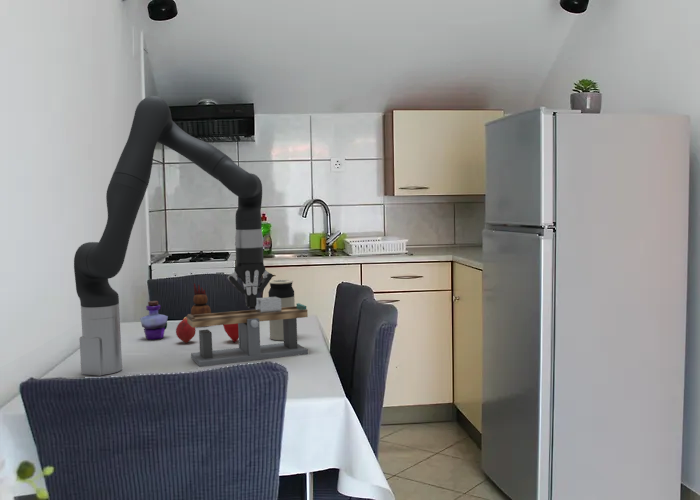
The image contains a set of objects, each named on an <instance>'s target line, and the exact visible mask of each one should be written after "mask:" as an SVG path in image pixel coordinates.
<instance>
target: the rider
mask: <svg viewBox="0 0 700 500" xmlns="http://www.w3.org/2000/svg"><path fill="white" fill-rule="evenodd" d="M256 298H257V305H256V306H255V310H256V313H269V312H281V311H282V310H281V299H280V298H278V297H269V296H268V297H256Z"/></svg>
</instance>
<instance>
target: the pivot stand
mask: <svg viewBox="0 0 700 500" xmlns="http://www.w3.org/2000/svg"><path fill="white" fill-rule="evenodd" d="M297 319H298V318H292V319H283V334H284V340H283V342H280V343H273V344H272V343H271V344H262V345H261V334H260V331H261V330H260V328H261V327H260V321H259V319H258V318H254V319H247V323H238V334H239V338H238V347H234V348H226V349H225V348H224V349H217V350H216V349H215V350H213V339H212V338H213V335H212V331H211V330H209V329H199V330H198V339H199V343H198V344H199V351H197V352H191V353H190V357H191V359H192V360H193V361H194V362H195V364H196V365H197V366H198V367H199V366H201V367H209V366H216V365H225V363H226V364H235V363H240V362H248V361H249V362H251V361H259V360H265V359H266V360H267V359H275V358H283V357H292V356H299V355H301V356H302V355H308V354H309V353H308V349H307V348H305V347H304V346H302V345H300V344H299V343H298V325H297V324H298V323H297V322H298V321H297ZM234 362H235V363H234Z"/></svg>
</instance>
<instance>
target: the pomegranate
mask: <svg viewBox="0 0 700 500" xmlns="http://www.w3.org/2000/svg"><path fill="white" fill-rule="evenodd" d="M175 335H176V337H177V338H178V339H179V340H180V341H181V342H183V343H185V344H188V343H189V342H191V340H192V339H193V338H194V337H195V335H196V327H191V326H190V325H189V324H188V323H187V316H185V317H184V318H183V319H182V320H181V321H180V322H179V323H178V324H177V325H176V329H175Z"/></svg>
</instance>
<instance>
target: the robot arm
mask: <svg viewBox="0 0 700 500" xmlns="http://www.w3.org/2000/svg"><path fill="white" fill-rule="evenodd" d="M171 112H172V111H171V108H170V107H169V105H168V103H167V102H166V101H165V100H164V98H162V97H160V96H157V95H150V96H147V97H145V98H143V99H141V101H140V102H139V103H138V104H137V105H136V108H135V110H134V115H133V120H132V123H131V127H130V132H129V135H128V138H127V140H126V142H125V145H124V148H123V149H122V151H121V154H120V156H119V158H118V160H117V163H116V166H115V168H114V171H113V173H112V175H111V178H110V180H109V183H108V186H107V190H106V197H105V198H106V199H105V200H106V208H107V211H106V212H107V220H106V224H105V227H104V230H103V232H102V234H101V237H100V239H99V241H98V242H96V241H89V242H85V243H83V244H81V245H79V246H78V247H77V249H76V251H75V253H74V258H73V269H74V271H73V272H74V279H75V280H74V283H75V289H76V294H77V297H78V298H79V302H80V316H81V334H82V336H80V337H79V352H80V353H79V355H80V372H81V375H87V376H103V375H109V374H114V373H117V372H118V373H119V372H121V371H122V370H123V358H122V356H123V355H122V340H121V339H122V337H121V317H120V314H121V313H120V298H119V294H118V292H117V291H116V290H115V289H113V287H112V286H111V284H110V283H109V279H112V278H114V277H116V276H117V275H118V274H119V273H120V272H121V270H122V267H123V265H124V263H125V259H126V255H127V250H128V247H129V244H130V243H129V242H130V238H131V234H132V232H133V231H132V230H133V228H134V225H135V223H136V219H137V216H138V213H139V210H140V208H141V205H142V202H143V200H144V198H145V195H146V191H147V190H148V188H149V187H148V186H149V183H150V180H151V173H152V168H153V161H154V154H155V149H156V146H157V144H158V143H159V144H160V145H161V144H162V145H163V146H165V147H167V148H168V149H171V150H172V151H174V152H176V153H178V154H180V156H183V157H184V158H185V159H187V160H189V161H190V162H192V163H193V164H195V165H196V166H197V167H199V168H200V169H201V170H203V171H204V172H206V173H207V174H208V175H210V176H211V177H212V178H214V179H215V180H217V181H219V183H221V185H223V186H224V187H225V188H226V189H228V191H230V192H231V193H233V194H234V195H235V196H236V197H238V198H237V210H236V211H235V237H234V239H235V240H234V246H235V267H234V272H232V273H231V274H230V275H227V277H226V279H227V280H228V281H229V282H230V284H231V285H232V286H233V287H234V288H235V290H237V292H238V293H241V294H243V295H244V296H245V297H244V298H245V299H244V301H245V306H246V307H247V309H249V310H252V309H256V305H257V298H258V297H257V295H258V294H259V293H262V292H264V290H265V289H266V287H267V286H268V284H270V283H269V281H272V279H273V277H274V275H273V273H271V272H269V271H267V270H266V266H265V264H264V241H263V240H264V239H263V238H264V237H263V232H262V231H263V230H262V227H263V226H262V215H261V213H262V212H261V210H262V205H263V204H262V201H263V183H262V180H261V179H260V177H258V175H256V174H254V173H251V172H248V171H247V170H246V169H244V168H242V167H241V166H239V165H237V164H236V163H235V160H233V159H232V158H231V157H230V156H228V155H227V154H226V153H224V152H223V151H222V150H220V149H219V148H217V147H215V146H214V145H213V144H210V143H208V142H207V141H204V140H201V139H199V138H196V137H195V136H192V135H191V134H189V133H187V132H186V131H184V130H183V129H182V128H181V127H179V125H178V124H177V123H175V121H173V119H172V113H171ZM238 278H239V279H240V282H241V281H242V284H243V286H241V284H240V283H239V282H238ZM261 278H262V280H261ZM260 280H261V281H260ZM259 281H260V282H259Z"/></svg>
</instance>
